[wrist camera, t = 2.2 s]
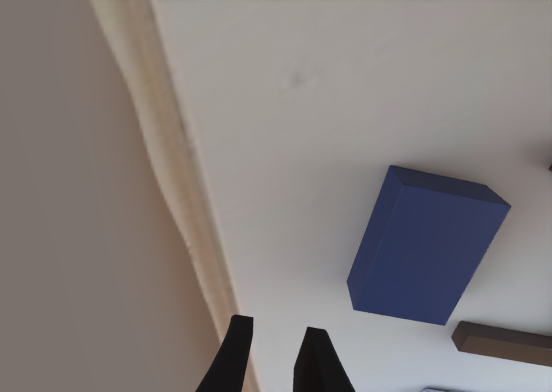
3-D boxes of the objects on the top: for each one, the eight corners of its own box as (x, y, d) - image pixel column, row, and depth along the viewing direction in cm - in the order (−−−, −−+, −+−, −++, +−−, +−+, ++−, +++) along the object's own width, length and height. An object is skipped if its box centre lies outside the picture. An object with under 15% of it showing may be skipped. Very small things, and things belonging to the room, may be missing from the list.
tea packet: (429, 296, 23) (444, 326, 21) (346, 281, 23) (353, 310, 21) (486, 184, 20) (512, 206, 18) (389, 165, 20) (403, 184, 17)
